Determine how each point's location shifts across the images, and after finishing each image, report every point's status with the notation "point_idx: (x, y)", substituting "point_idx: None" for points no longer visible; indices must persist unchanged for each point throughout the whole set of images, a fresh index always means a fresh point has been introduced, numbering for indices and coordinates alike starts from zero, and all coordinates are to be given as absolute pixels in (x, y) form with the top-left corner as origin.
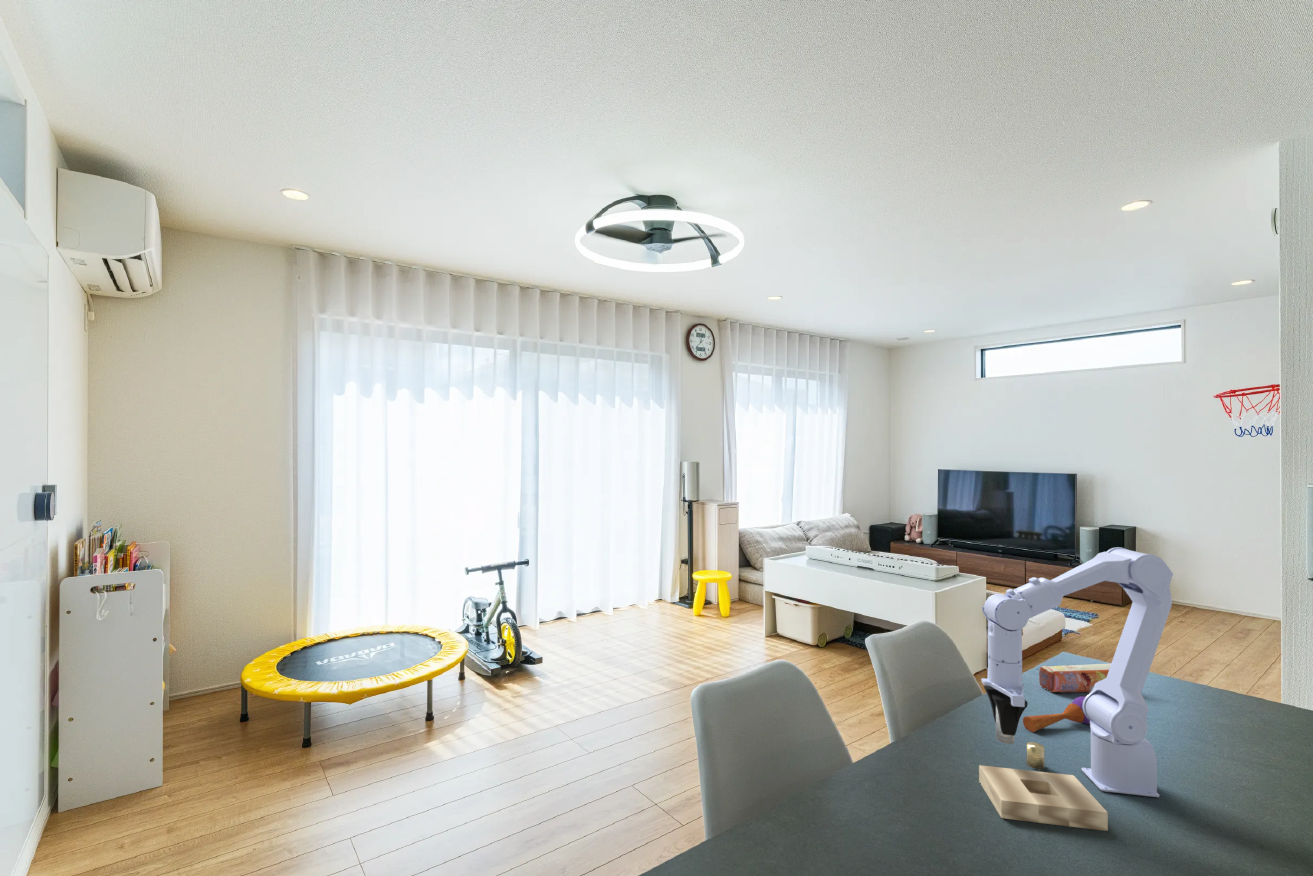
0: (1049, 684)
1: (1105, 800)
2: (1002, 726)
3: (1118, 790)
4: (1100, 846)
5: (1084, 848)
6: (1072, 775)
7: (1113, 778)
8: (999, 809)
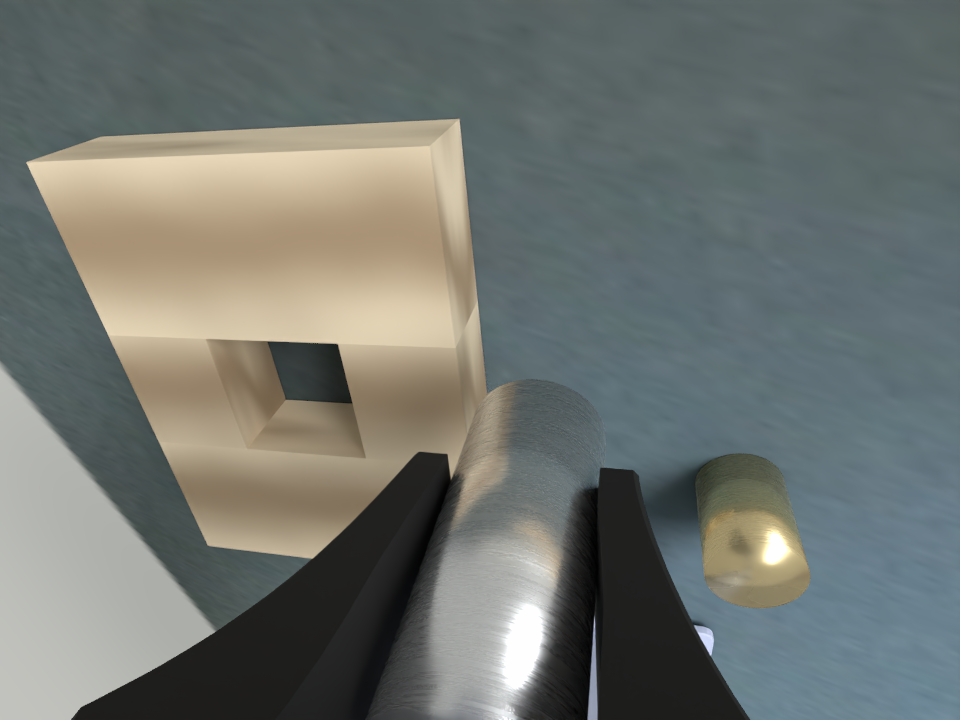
0: None
1: None
2: (375, 499)
3: None
4: (133, 433)
5: (86, 382)
6: None
7: None
8: (109, 142)
